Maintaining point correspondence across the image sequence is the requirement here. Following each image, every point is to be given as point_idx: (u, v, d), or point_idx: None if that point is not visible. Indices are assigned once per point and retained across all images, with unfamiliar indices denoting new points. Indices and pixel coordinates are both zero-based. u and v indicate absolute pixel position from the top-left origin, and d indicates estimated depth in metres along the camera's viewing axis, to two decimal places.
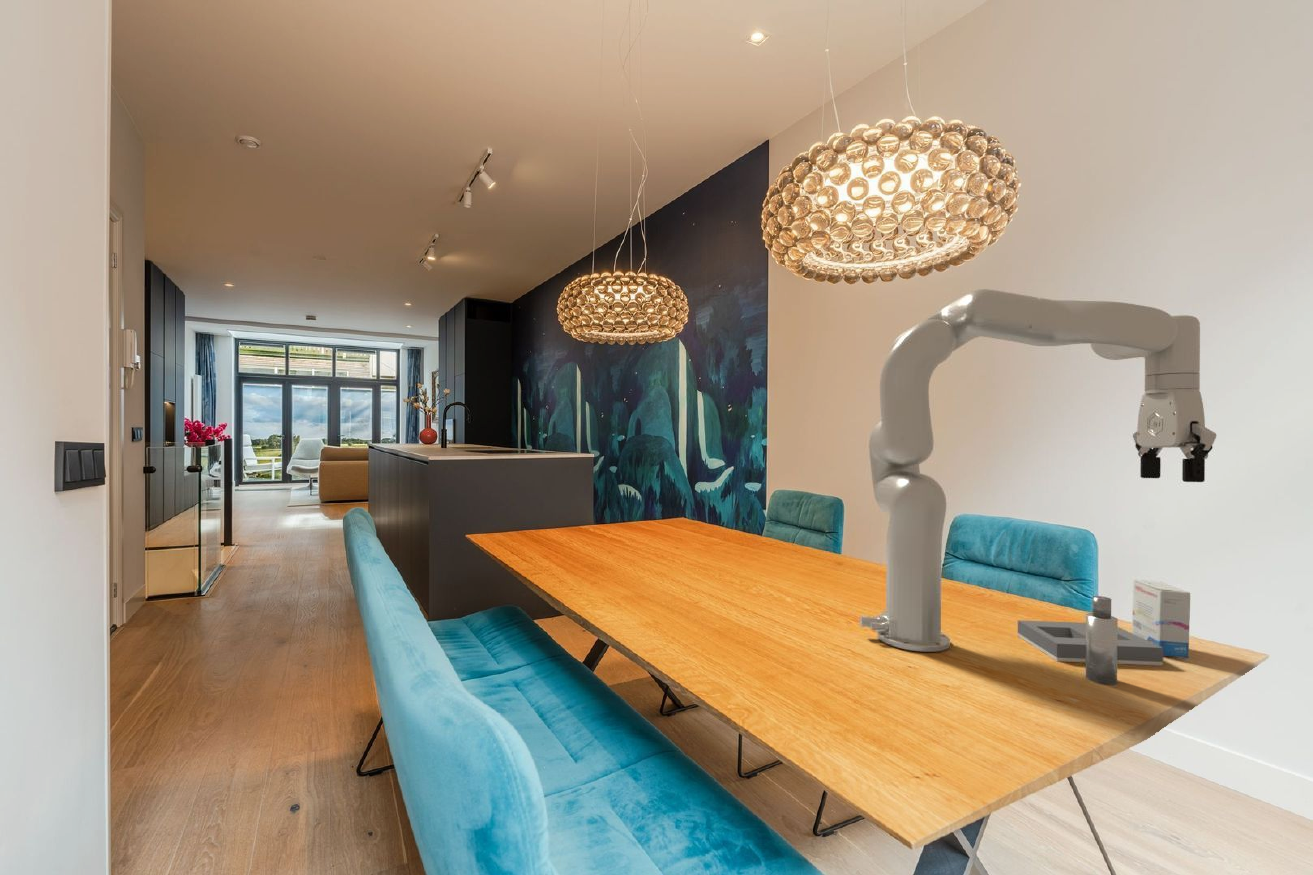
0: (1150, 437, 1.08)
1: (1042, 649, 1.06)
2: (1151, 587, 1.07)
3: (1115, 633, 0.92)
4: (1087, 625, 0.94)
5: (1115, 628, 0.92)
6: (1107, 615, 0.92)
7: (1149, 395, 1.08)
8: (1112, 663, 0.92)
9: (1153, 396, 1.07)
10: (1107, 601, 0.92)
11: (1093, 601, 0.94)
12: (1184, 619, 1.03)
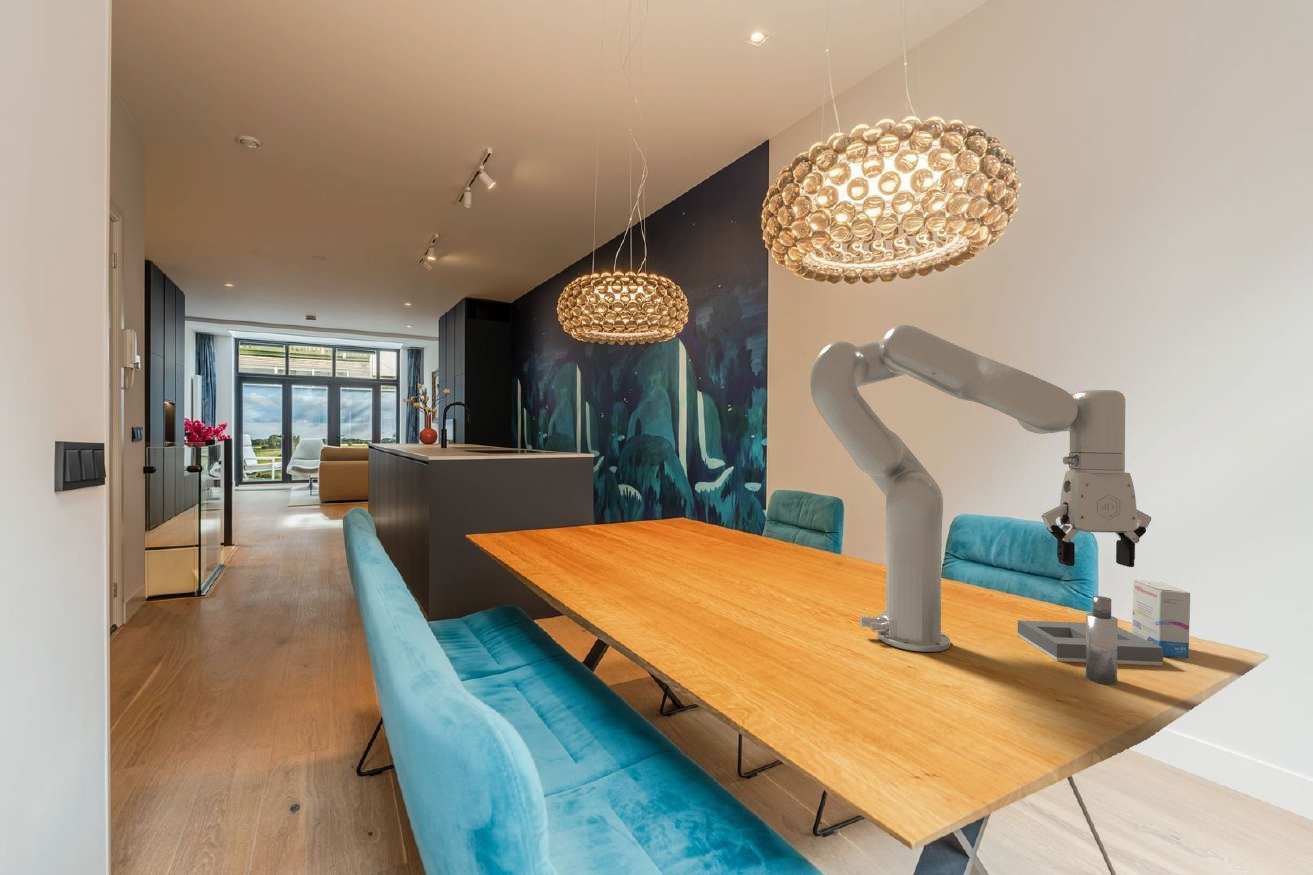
0: (1102, 521, 0.96)
1: (1042, 649, 1.06)
2: (1151, 587, 1.07)
3: (1115, 633, 0.92)
4: (1087, 625, 0.94)
5: (1115, 628, 0.92)
6: (1107, 615, 0.92)
7: (1097, 474, 0.97)
8: (1112, 663, 0.92)
9: (1103, 475, 0.97)
10: (1107, 601, 0.92)
11: (1093, 601, 0.94)
12: (1184, 619, 1.03)
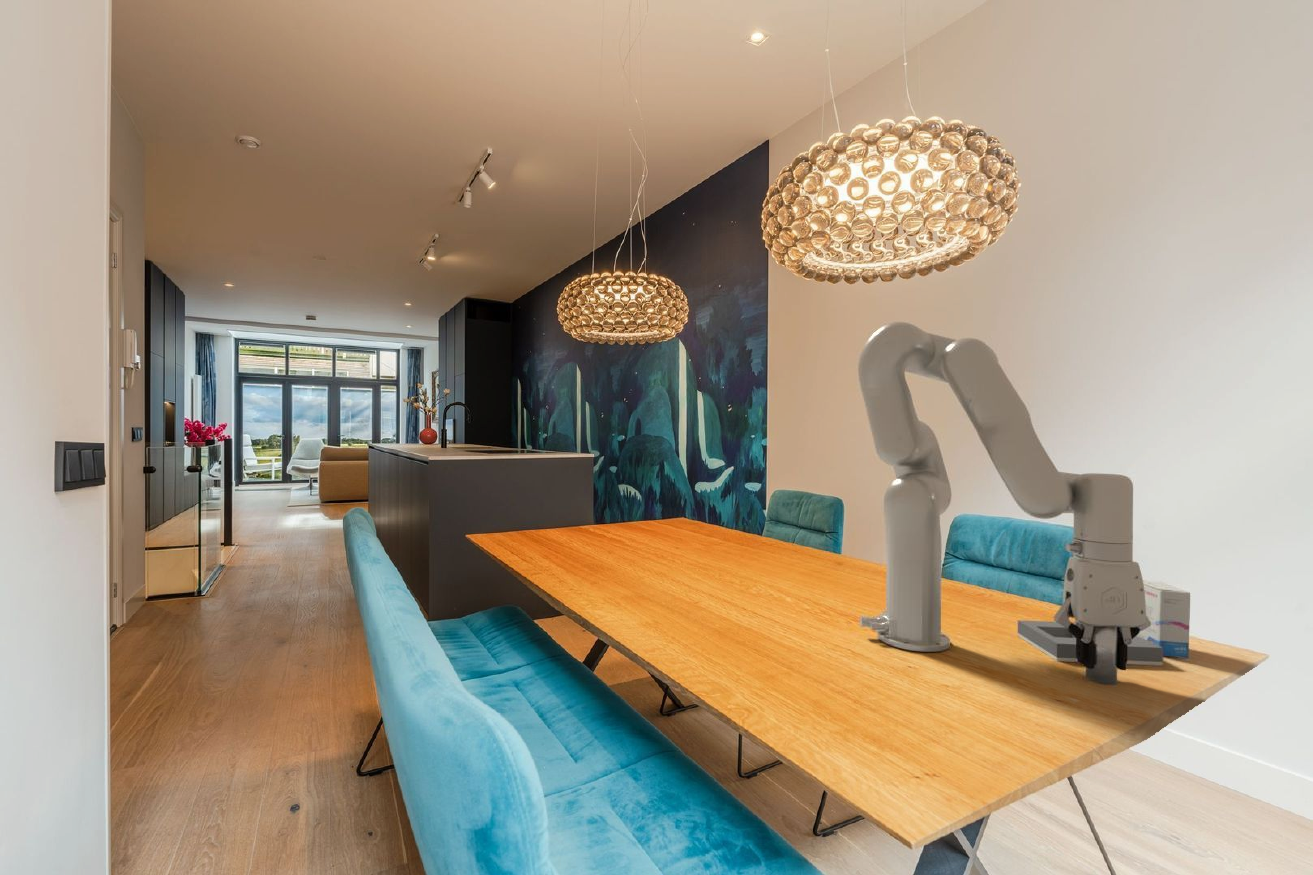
0: (1107, 615, 0.91)
1: (1042, 649, 1.06)
2: (1151, 587, 1.07)
3: (1115, 633, 0.92)
4: None
5: (1115, 628, 0.92)
6: None
7: (1102, 565, 0.91)
8: (1112, 663, 0.92)
9: (1108, 566, 0.91)
10: None
11: None
12: (1184, 619, 1.03)
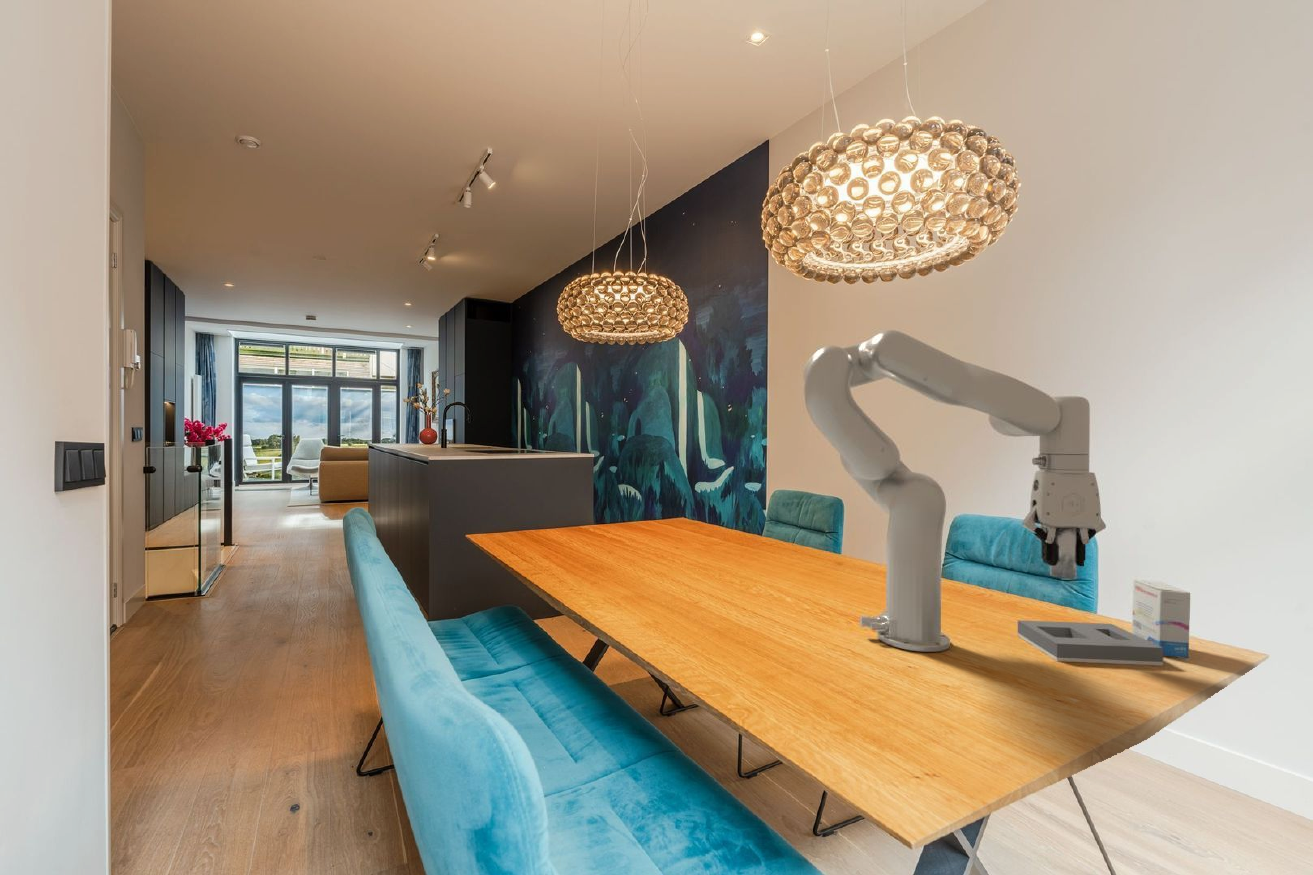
0: (1067, 517, 1.05)
1: (1042, 649, 1.06)
2: (1151, 587, 1.07)
3: (1074, 534, 1.06)
4: None
5: (1074, 529, 1.06)
6: None
7: (1062, 474, 1.05)
8: (1072, 560, 1.05)
9: (1068, 475, 1.05)
10: None
11: None
12: (1184, 619, 1.03)
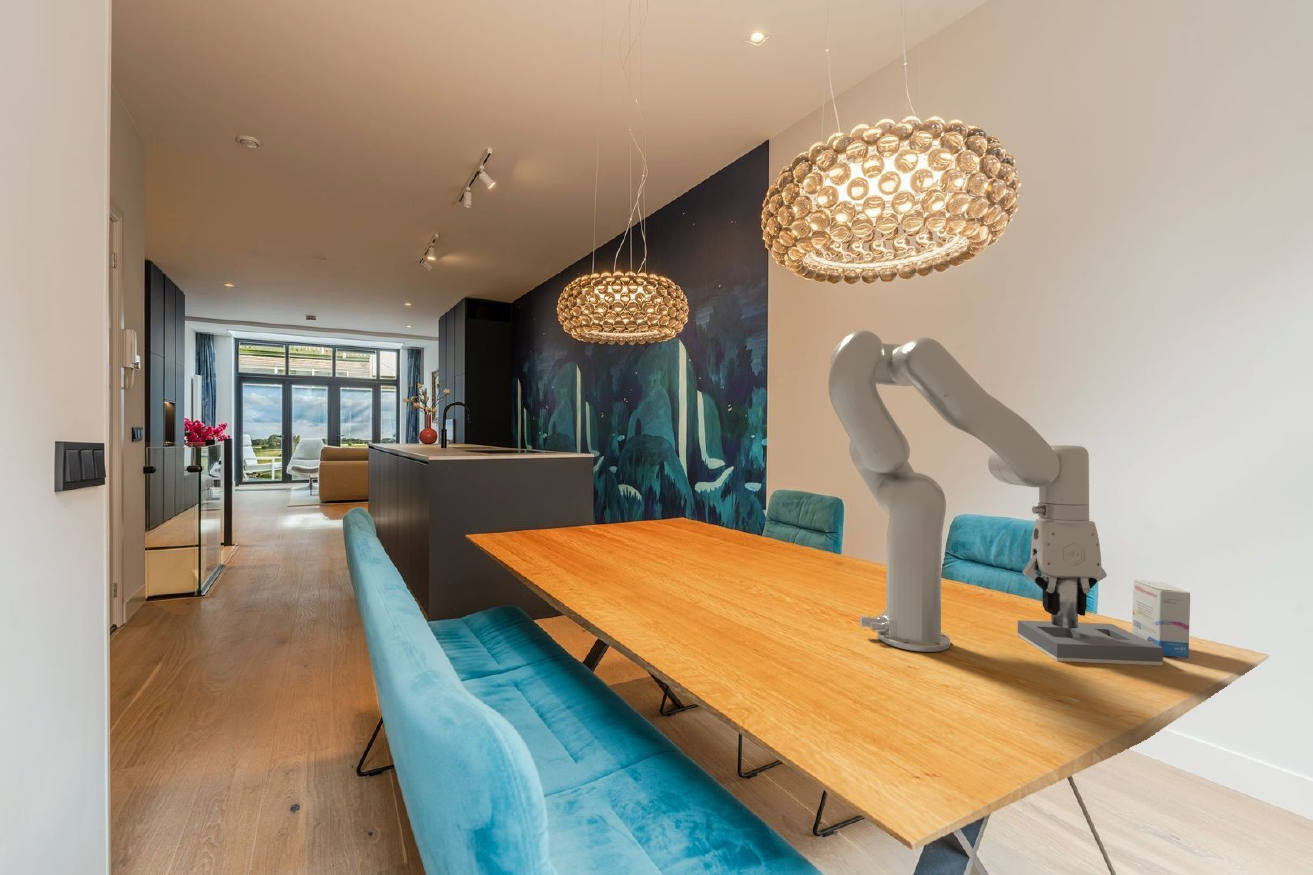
0: (1067, 567, 1.05)
1: (1042, 649, 1.06)
2: (1151, 587, 1.07)
3: (1075, 583, 1.05)
4: None
5: (1075, 579, 1.05)
6: None
7: (1062, 524, 1.05)
8: (1073, 609, 1.05)
9: (1068, 525, 1.05)
10: None
11: None
12: (1184, 619, 1.03)
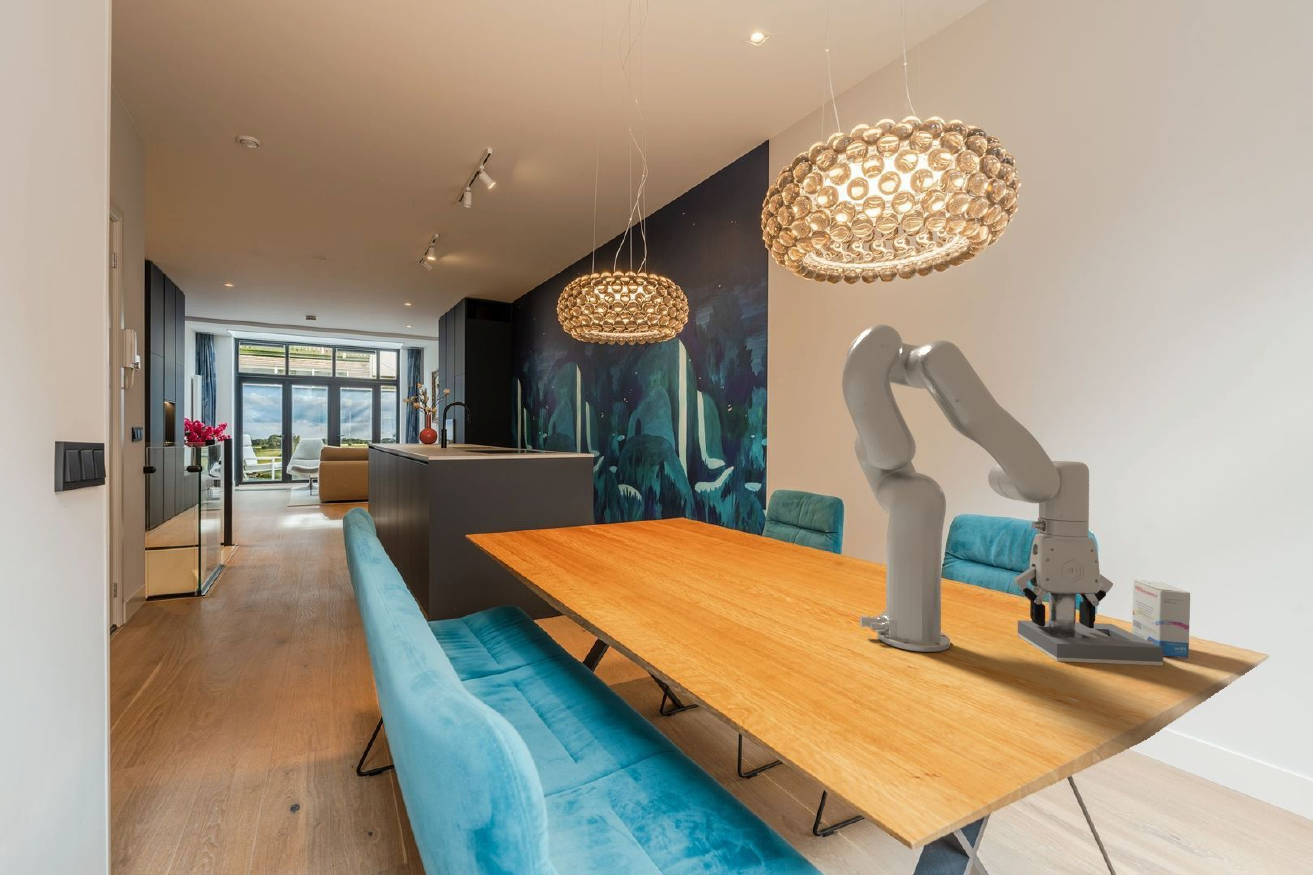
0: (1066, 584, 1.05)
1: (1042, 649, 1.06)
2: (1151, 587, 1.07)
3: (1073, 604, 1.05)
4: (1050, 598, 1.08)
5: (1073, 600, 1.05)
6: None
7: (1062, 540, 1.05)
8: (1071, 630, 1.05)
9: (1068, 541, 1.05)
10: None
11: None
12: (1184, 619, 1.03)
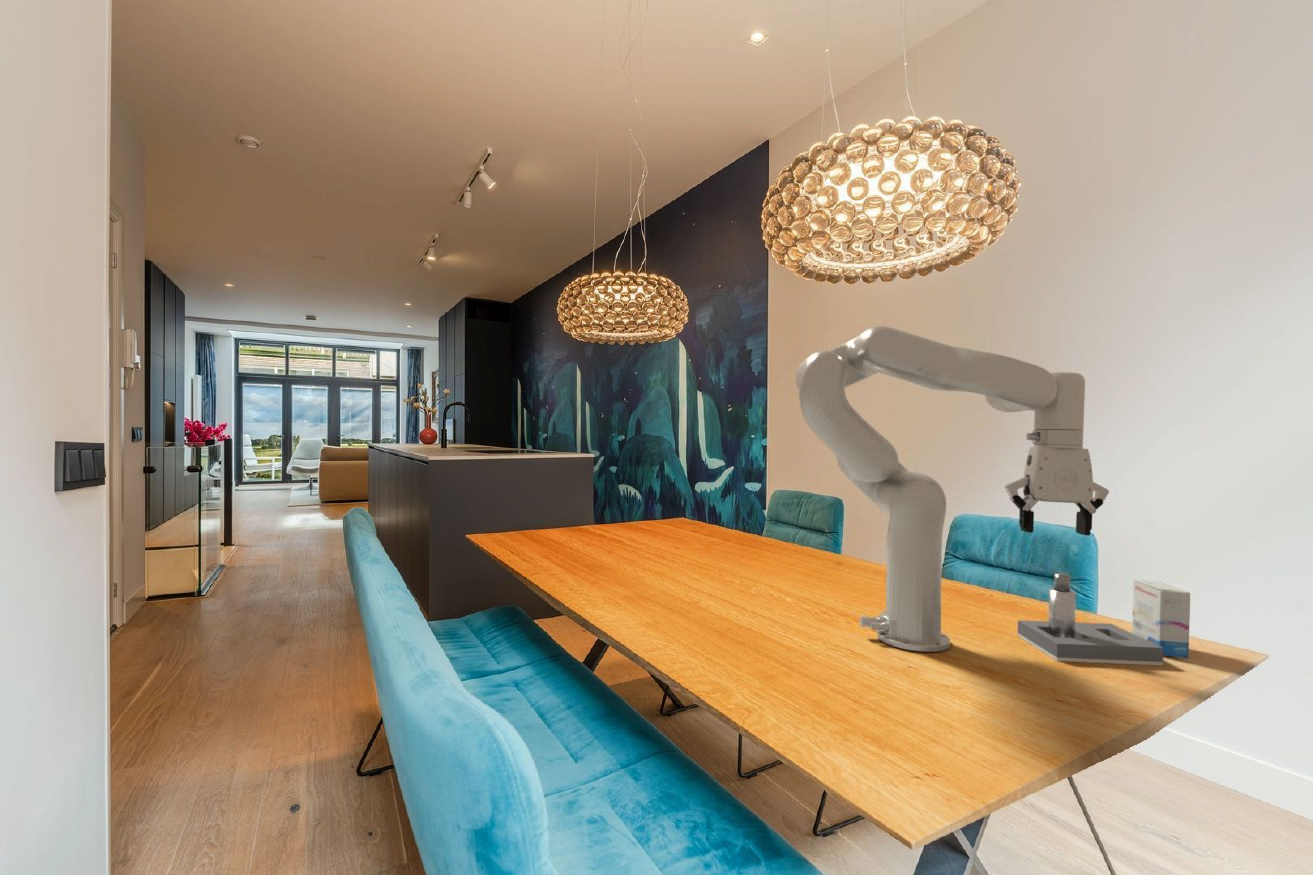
0: (1059, 492, 1.06)
1: (1042, 649, 1.06)
2: (1151, 587, 1.07)
3: (1073, 604, 1.05)
4: (1049, 598, 1.08)
5: (1073, 600, 1.05)
6: (1066, 589, 1.06)
7: (1056, 449, 1.06)
8: (1070, 630, 1.05)
9: (1061, 450, 1.06)
10: (1066, 577, 1.06)
11: (1054, 577, 1.08)
12: (1184, 619, 1.03)
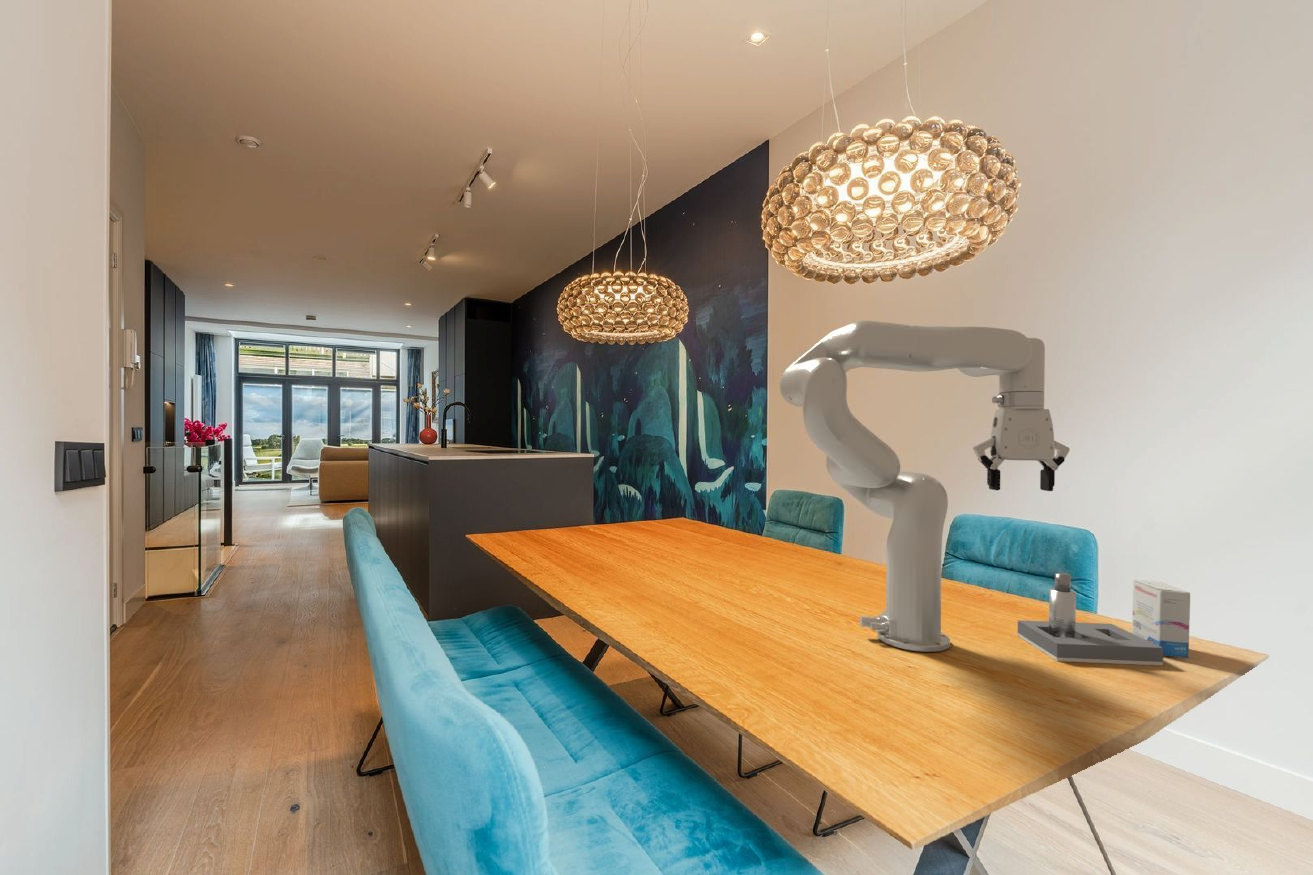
0: (1023, 451, 1.12)
1: (1042, 649, 1.06)
2: (1151, 587, 1.07)
3: (1073, 604, 1.05)
4: (1050, 598, 1.08)
5: (1073, 600, 1.05)
6: (1067, 589, 1.06)
7: (1019, 410, 1.12)
8: (1071, 630, 1.05)
9: (1024, 411, 1.12)
10: (1067, 576, 1.06)
11: (1055, 577, 1.08)
12: (1184, 619, 1.03)
